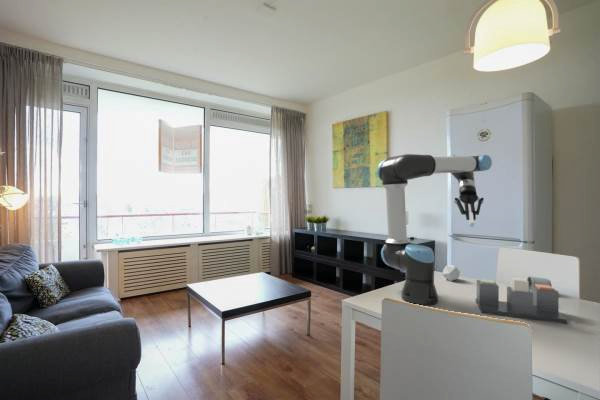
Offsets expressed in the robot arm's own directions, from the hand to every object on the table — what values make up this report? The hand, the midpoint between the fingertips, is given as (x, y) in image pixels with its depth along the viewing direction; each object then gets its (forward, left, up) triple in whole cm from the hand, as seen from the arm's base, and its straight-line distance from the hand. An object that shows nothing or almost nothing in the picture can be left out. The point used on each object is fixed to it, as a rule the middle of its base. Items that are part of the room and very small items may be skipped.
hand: (471, 224), depth 136 cm
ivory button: (+13, -21, -27) cm, 37 cm away
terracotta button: (+22, -15, -31) cm, 41 cm away
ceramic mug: (+29, +16, -33) cm, 47 cm away
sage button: (+3, -15, -31) cm, 34 cm away
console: (+13, -18, -32) cm, 39 cm away
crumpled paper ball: (-7, +23, -33) cm, 41 cm away
